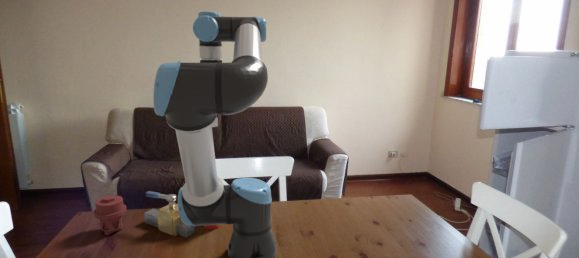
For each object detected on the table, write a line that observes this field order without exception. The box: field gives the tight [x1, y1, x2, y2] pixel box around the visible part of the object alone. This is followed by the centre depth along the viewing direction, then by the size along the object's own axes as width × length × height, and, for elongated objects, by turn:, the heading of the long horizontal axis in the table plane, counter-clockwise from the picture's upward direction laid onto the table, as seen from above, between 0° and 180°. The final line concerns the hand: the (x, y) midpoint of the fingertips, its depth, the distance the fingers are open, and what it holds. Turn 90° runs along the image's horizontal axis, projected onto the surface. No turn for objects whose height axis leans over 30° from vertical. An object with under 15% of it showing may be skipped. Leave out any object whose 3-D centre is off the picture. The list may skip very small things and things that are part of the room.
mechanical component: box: [93, 194, 127, 236], centre depth 125 cm, size 12×10×10 cm
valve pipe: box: [143, 201, 196, 238], centre depth 128 cm, size 20×6×11 cm, turn 61°
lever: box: [145, 190, 177, 203], centre depth 127 cm, size 3×12×1 cm, turn 71°
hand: (213, 126), depth 131 cm, fingers closed
